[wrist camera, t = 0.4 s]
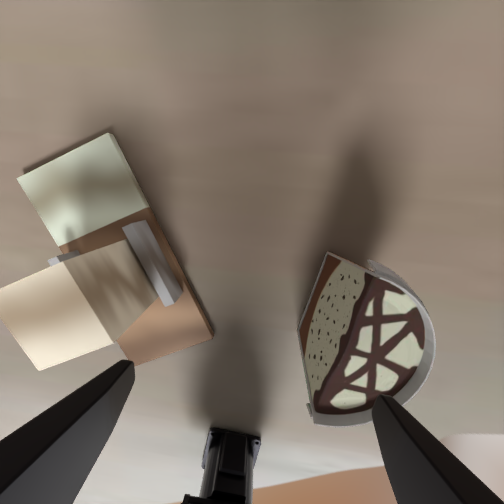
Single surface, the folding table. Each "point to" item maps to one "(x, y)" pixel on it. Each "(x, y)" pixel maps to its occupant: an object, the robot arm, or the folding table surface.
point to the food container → (362, 341)
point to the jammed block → (77, 304)
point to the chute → (117, 240)
